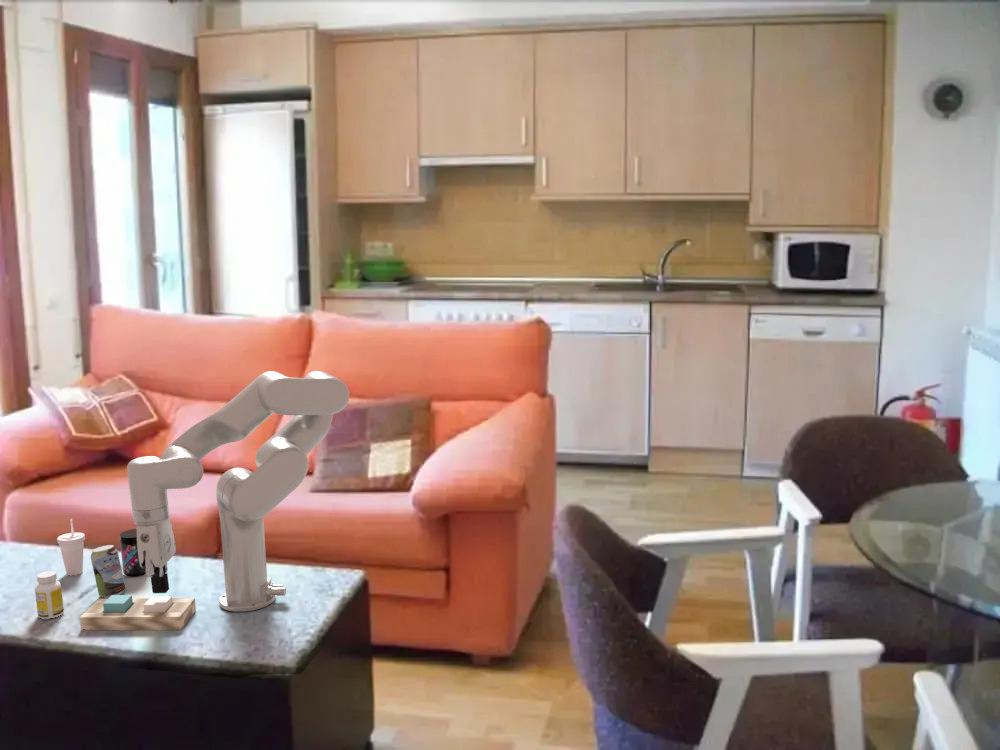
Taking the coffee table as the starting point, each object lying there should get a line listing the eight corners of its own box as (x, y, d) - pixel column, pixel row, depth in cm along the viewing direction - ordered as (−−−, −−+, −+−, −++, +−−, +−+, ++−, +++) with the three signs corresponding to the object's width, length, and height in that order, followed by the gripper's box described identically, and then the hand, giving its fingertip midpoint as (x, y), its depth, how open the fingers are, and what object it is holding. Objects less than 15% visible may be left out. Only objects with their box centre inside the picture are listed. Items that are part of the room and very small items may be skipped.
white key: (172, 608, 223) (171, 596, 222) (165, 617, 218) (164, 604, 218) (152, 608, 223) (151, 596, 222) (144, 617, 219) (143, 604, 218)
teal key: (133, 607, 223) (132, 594, 223) (124, 616, 219) (123, 603, 218) (112, 607, 223) (111, 595, 223) (104, 616, 219) (103, 603, 218)
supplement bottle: (64, 608, 228) (60, 568, 226) (63, 617, 223) (59, 576, 221) (38, 612, 226) (34, 571, 225) (37, 621, 221) (32, 580, 220)
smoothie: (93, 571, 251) (88, 518, 248) (71, 579, 245) (65, 525, 243) (78, 566, 254) (72, 514, 251) (55, 574, 249) (49, 521, 246)
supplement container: (122, 570, 251) (118, 531, 249) (150, 565, 253) (146, 527, 252) (124, 579, 245) (120, 539, 243) (153, 574, 247) (149, 535, 245)
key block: (195, 610, 226) (194, 598, 225) (180, 629, 216) (179, 616, 215) (100, 611, 226) (99, 598, 226) (81, 630, 217) (79, 617, 216)
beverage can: (116, 601, 232) (112, 552, 229) (88, 599, 233) (83, 551, 231) (131, 590, 238) (127, 543, 235) (104, 589, 239) (99, 541, 237)
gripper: (155, 524, 209) (165, 605, 213) (179, 501, 224) (189, 577, 227) (120, 525, 209) (131, 606, 213) (147, 502, 224) (156, 578, 228)
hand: (161, 591), depth 220 cm, fingers closed
